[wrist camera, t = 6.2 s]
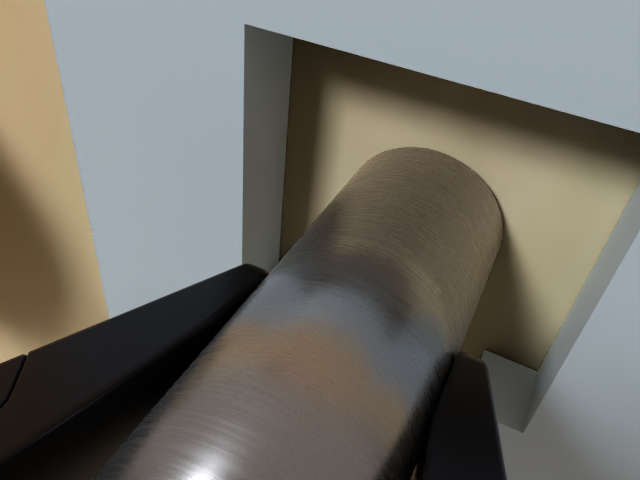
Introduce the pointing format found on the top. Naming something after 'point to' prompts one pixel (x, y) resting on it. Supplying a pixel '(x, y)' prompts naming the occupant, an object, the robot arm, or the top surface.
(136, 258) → the keyhole board
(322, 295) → the bolt
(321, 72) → the top surface
